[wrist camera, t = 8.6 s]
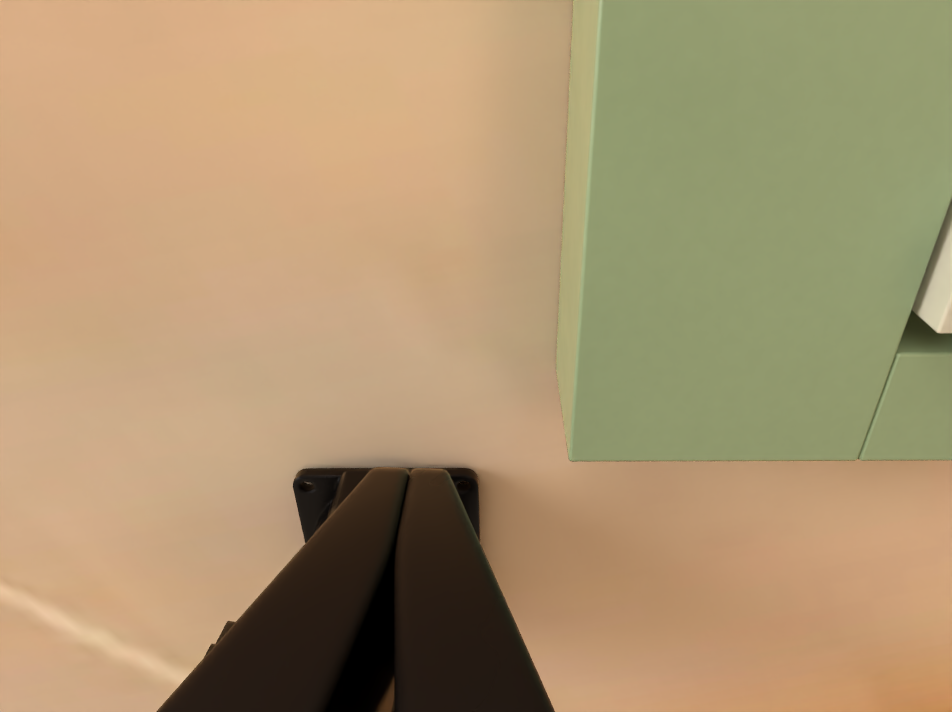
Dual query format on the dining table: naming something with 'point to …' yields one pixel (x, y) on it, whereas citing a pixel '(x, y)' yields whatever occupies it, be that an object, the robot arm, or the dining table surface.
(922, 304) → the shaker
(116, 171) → the dining table surface
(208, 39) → the dining table surface
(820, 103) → the stand
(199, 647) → the dining table surface
